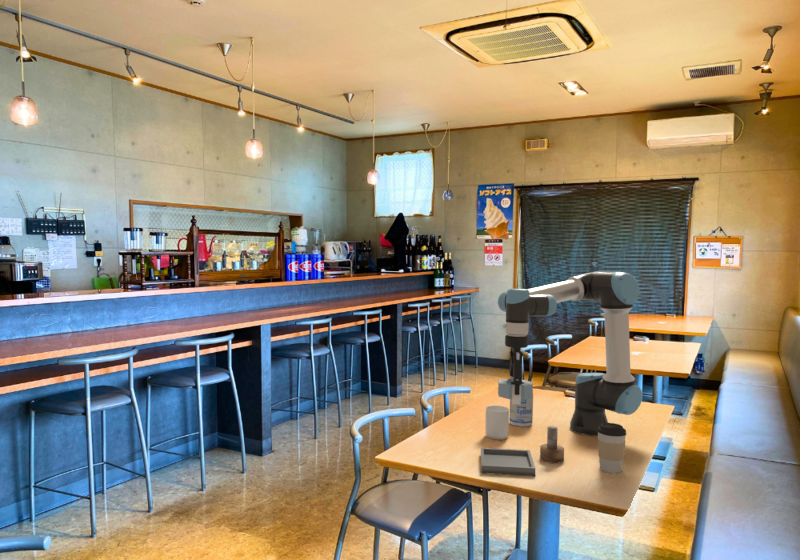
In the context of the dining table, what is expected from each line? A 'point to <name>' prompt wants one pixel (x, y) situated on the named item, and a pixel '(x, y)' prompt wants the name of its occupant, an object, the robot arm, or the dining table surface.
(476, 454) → the dining table surface
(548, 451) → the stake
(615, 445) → the coffee cup
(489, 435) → the mug
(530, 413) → the supplement tub
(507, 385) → the ring
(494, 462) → the tray
